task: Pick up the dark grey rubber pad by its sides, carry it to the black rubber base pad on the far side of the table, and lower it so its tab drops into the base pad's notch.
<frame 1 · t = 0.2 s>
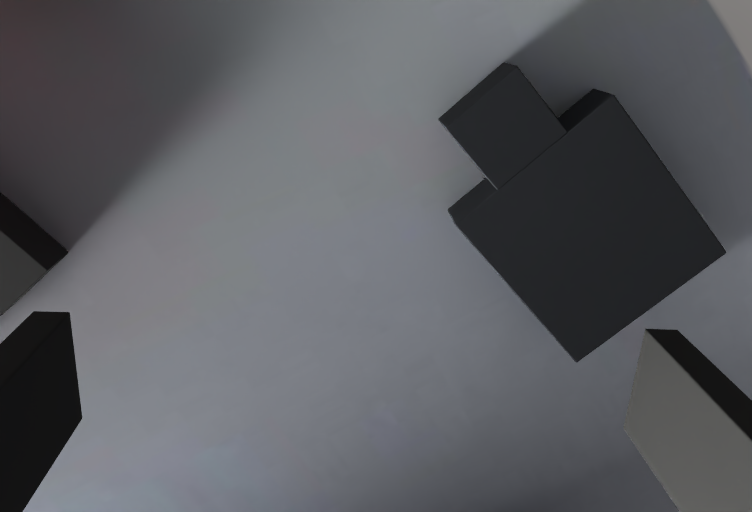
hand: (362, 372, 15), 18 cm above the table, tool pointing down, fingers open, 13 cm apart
pad: (576, 223, 33), on the table
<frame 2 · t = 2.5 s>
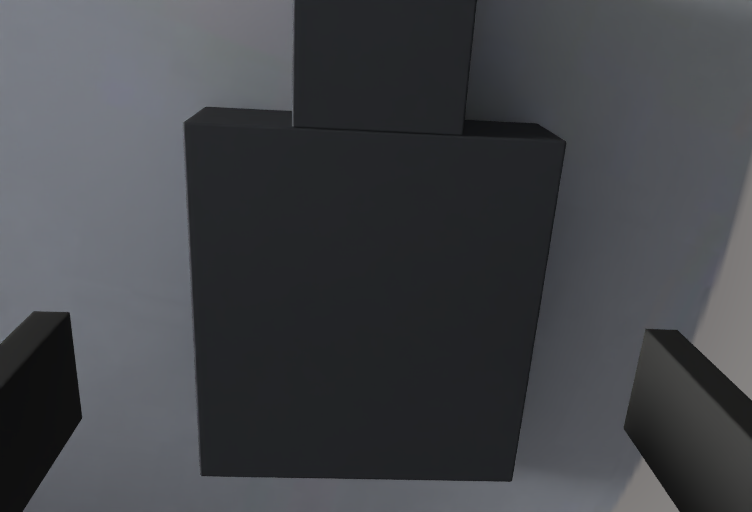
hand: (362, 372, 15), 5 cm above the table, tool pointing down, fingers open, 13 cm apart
pad: (364, 285, 19), on the table
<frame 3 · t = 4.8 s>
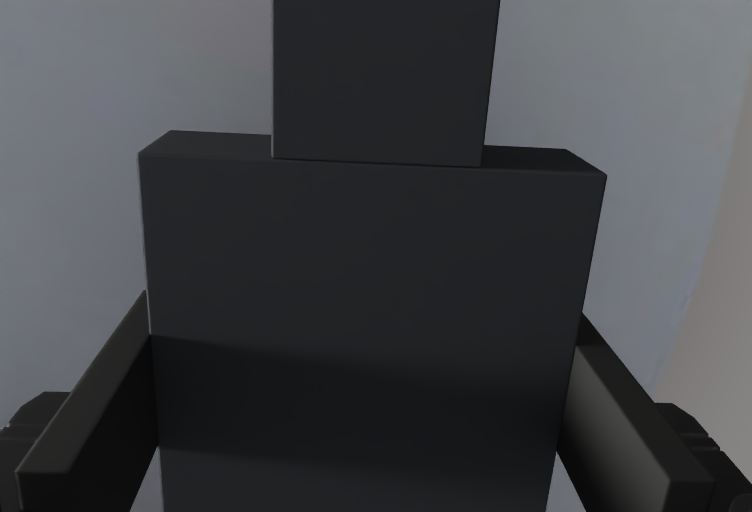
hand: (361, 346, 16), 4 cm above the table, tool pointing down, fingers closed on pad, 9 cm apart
pad: (361, 337, 16), point 3 cm above the table, touching gripper
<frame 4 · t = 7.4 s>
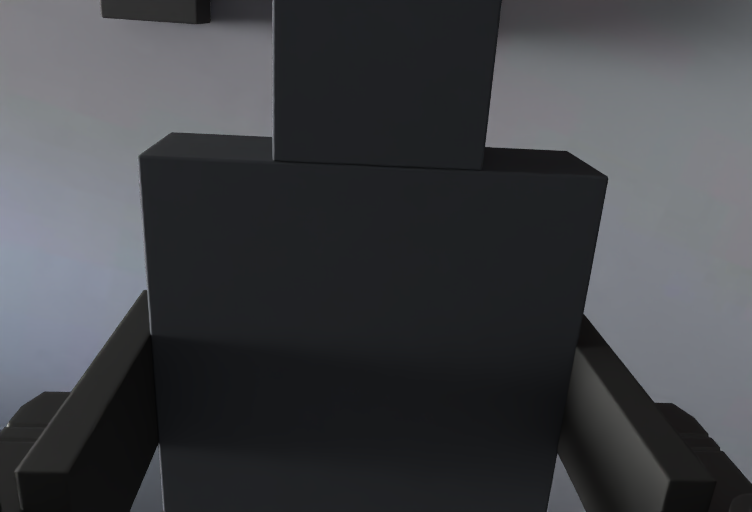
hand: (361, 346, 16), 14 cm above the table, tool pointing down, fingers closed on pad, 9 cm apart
pad: (362, 338, 16), point 13 cm above the table, touching gripper
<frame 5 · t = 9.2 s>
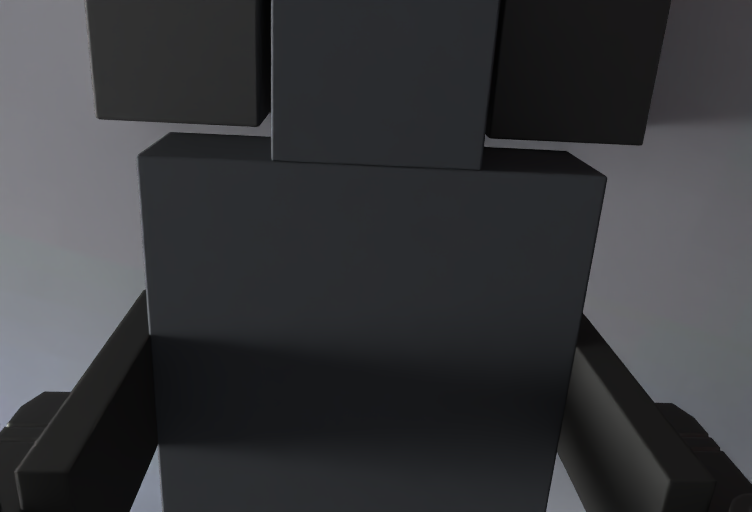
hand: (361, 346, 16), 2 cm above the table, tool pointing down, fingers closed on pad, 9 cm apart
pad: (361, 338, 16), point 2 cm above the table, touching gripper
when the fingers open (0 cm above the table, at t = 10.3 s): pad stays where it is, on the table.
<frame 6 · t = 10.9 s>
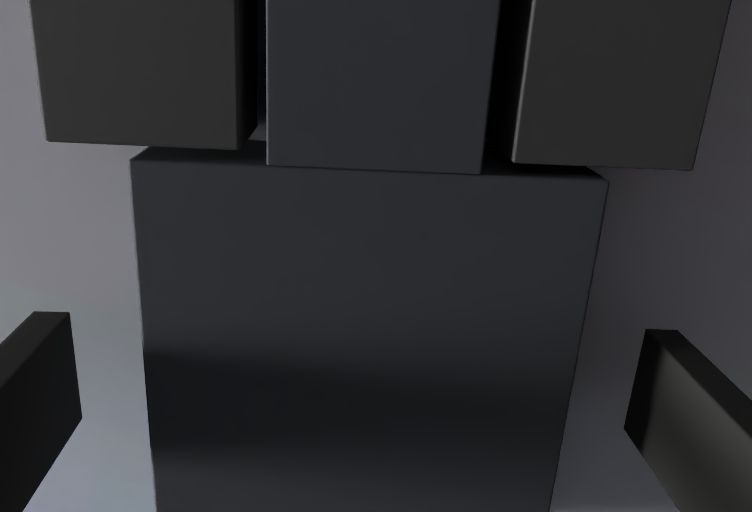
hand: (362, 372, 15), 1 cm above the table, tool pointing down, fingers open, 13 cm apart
pad: (359, 345, 16), on the table
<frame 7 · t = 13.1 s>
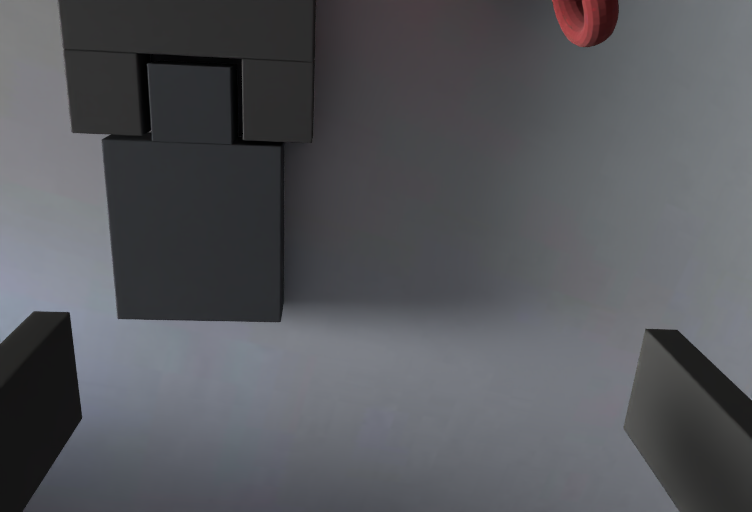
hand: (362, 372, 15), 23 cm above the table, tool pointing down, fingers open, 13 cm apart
base pad: (197, 12, 33), on the table
pad: (204, 222, 37), on the table
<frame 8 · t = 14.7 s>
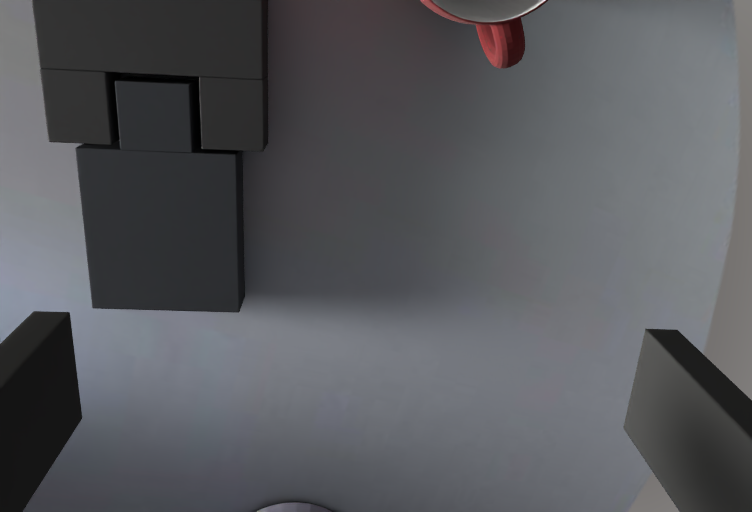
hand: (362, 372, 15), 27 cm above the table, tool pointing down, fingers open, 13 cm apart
base pad: (162, 34, 37), on the table
pad: (171, 221, 41), on the table
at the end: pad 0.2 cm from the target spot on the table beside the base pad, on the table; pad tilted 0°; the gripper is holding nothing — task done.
